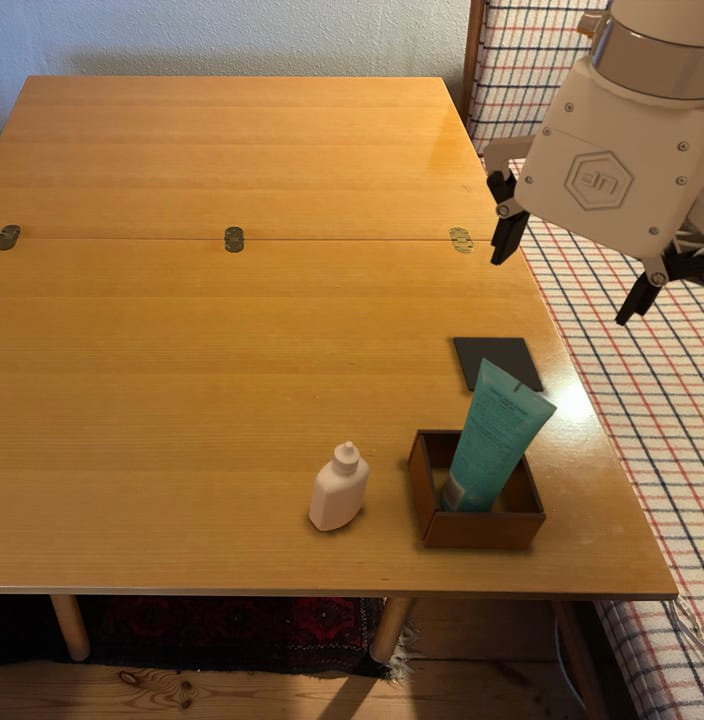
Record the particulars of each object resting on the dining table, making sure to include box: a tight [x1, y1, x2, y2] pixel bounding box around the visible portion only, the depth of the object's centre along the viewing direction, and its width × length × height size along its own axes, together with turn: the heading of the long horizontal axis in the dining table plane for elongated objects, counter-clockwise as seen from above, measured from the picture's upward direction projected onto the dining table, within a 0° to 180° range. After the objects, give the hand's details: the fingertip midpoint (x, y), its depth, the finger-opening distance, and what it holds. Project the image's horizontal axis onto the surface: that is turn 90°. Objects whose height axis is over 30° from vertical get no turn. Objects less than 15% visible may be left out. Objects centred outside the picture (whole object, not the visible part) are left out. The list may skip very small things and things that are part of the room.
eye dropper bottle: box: [308, 440, 371, 532], centre depth 68 cm, size 4×6×12 cm
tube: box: [440, 358, 558, 512], centre depth 66 cm, size 7×5×19 cm, turn 44°
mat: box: [453, 336, 545, 392], centre depth 87 cm, size 9×9×1 cm
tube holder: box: [406, 428, 548, 550], centre depth 71 cm, size 10×10×6 cm
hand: (561, 284), depth 52 cm, fingers open, 9 cm apart
